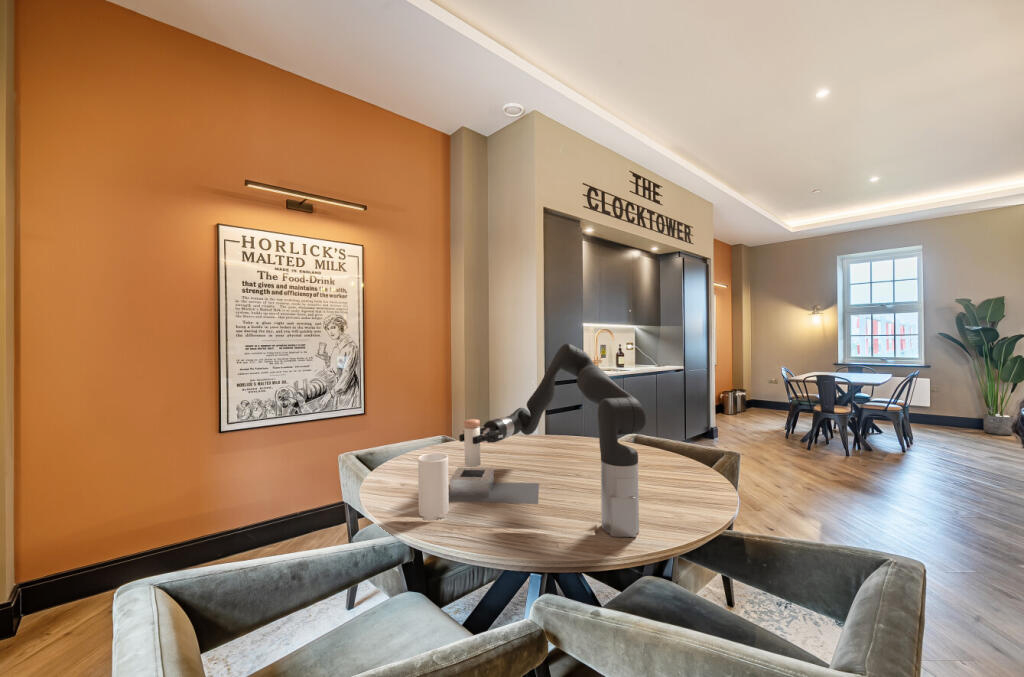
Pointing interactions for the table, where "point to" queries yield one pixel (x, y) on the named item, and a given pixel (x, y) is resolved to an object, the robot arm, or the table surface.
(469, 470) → the socket
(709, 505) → the table surface
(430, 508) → the cup
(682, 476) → the table surface
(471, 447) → the peg
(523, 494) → the mat
